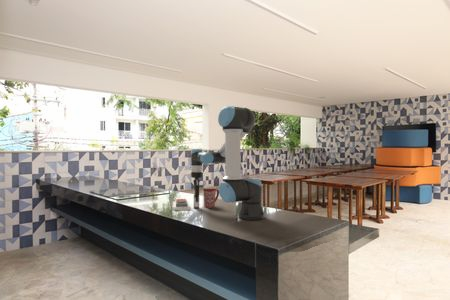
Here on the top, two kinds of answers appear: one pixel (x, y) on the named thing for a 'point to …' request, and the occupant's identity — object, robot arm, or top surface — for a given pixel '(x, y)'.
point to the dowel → (194, 202)
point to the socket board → (181, 204)
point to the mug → (210, 196)
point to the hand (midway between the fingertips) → (196, 205)
